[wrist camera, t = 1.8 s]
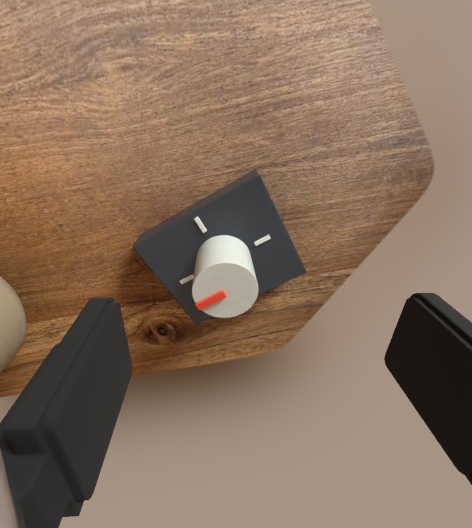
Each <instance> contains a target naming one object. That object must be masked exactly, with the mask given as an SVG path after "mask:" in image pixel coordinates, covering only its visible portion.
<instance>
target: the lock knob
mask: <svg viewBox="0 0 472 528" xmlns="http://www.w3.org/2000/svg"><path fill="white" fill-rule="evenodd" d="M192 296H193V299H194V301H195V303H196V307H197V308H198V309H199V310H202V311H203V312H205V313H207V314H209V315H211V316H214V317H219V318H230V317H235V316H238V315H240V314H242V313H244V312H246V311H247V310H248V309H249V308H251V306H252V305H253V304H254V302H255V301H256V299H257V296H258V283H257V279H256V275H255V271H254V267H253V263H252V259H251V255H250V252H249V249H248V247H247V246H246V245H245V244H244V243H243V242H242V241H241V240H239V239H238V238H236V237H233V236H229V235H219V236H215V237H212V238H210V239H208V240H207V241H205V242H204V243H203V244H202V245H201V247H200V248H199V250H198V252H197V256H196V263H195V271H194V278H193V285H192Z"/></svg>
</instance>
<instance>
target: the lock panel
mask: <svg viewBox="0 0 472 528" xmlns="http://www.w3.org/2000/svg"><path fill="white" fill-rule="evenodd" d="M219 235H229V236H233V237H236V238H238V239H239V240H241V241H242V242H243V243H244V244H245V245H246V246H247V247H248V249H249V252H250V255H251V259H252V263H253V267H254V271H255V275H256V279H257V283H258V295H260V294H262V293H264V292H266V291H268V290H270V289H272V288H274V287H276V286H279V285H281V284H283V283H285V282H287V281H289V280H291V279H293V278H295V277H297V276H299V275H301V274H304V273H306V269H305V267H304V265H303V263H302V261H301V259H300V257H299V255H298V253H297V251H296V249H295V247H294V245H293V243H292V241H291V239H290V236H289V234H288V232H287V230H286V228H285V226H284V224H283V222H282V220H281V218H280V216H279V214H278V212H277V210H276V208H275V206H274V204H273V201H272V199H271V197H270V195H269V193H268V191H267V189H266V187H265V185H264V183H263V181H262V179H261V177H260V175H259V174H258V172H257V171H256V170H253V171H251V172H250V173H248V174H246V175H244V176H243V177H241V178H239V179H237V180H236V181H234V182H232V183H230V184H229V185H227V186H225V187H223V188H222V189H220V190H218V191H216V192H215V193H213V194H211V195H209V196H208V197H206V198H204V199H202V200H201V201H199V202H197V203H195V204H194V205H192V206H190V207H188V208H187V209H185V210H183V211H181V212H180V213H178V214H176V215H174V216H173V217H171V218H169V219H167V220H166V221H164V222H162V223H160V224H159V225H157V226H155V227H153V228H152V229H150V230H148V231H146V232H145V233H143V234H141V235H140V236H139V237H138V239H137V240H136V242H135V243H134V245H133V248H134V249H135V250H136V251H137V253H138V254H139V255H140V256H141V257H142V259H143V260H144V261H145V262H146V264H147V265H148V266H149V267H150V269H151V270H152V271H153V272H154V273H155V275H156V276H157V277H158V278H159V280H160V281H161V282H162V283H163V284H164V286H165V287H166V288H167V289H168V291H169V292H170V293H171V294H172V296H173V297H174V298H175V299H176V300H177V302H178V303H179V304H180V305H181V307H182V308H183V309H184V310H185V312H186V313H187V314H188V315H189V316H190V318H191V319H192V320H193V321H194V323H195V324H196V325H197V324H199V323H202V322H204V321H206V320H208V319H210V318H212V317H214V316H211V315H209V314H207V313H205V312H203V311H202V310H199V309H198V308H197V307H196V303H195V301H194V299H193V296H192V285H193V278H194V271H195V263H196V256H197V252H198V250H199V248H200V247H201V245H202V244H203V243H204V242H205V241H207V240H208V239H210V238H212V237H215V236H219Z"/></svg>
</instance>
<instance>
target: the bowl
mask: <svg viewBox="0 0 472 528" xmlns="http://www.w3.org/2000/svg"><path fill="white" fill-rule="evenodd" d="M26 330H27V323H26V316H25V312H24V308H23V306H22V303H21V301H20V299H19V297H18V296H17V294H16V293H15V291H14V290H13V289H12V287H11V286H10V285H9V284H8V283H7V282H6V281H5V280H4V279H2V278H1V277H0V373H1V371H2V370H3V369H4V368H5V367H6V365H7V364H8V363H9V362H10V361H11V360H12V359H13V357H14V356H15V355H16V354H17V352H18V351H19V349H20V348H21V346H22V344H23V342H24V339H25V336H26Z"/></svg>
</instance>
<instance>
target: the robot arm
mask: <svg viewBox="0 0 472 528" xmlns="http://www.w3.org/2000/svg"><path fill="white" fill-rule="evenodd" d="M385 364H386V366H387V368H388V370H389V371H390V372H391V374H392V375H393V377H394V378H395V380H396V381H397V383H398V384H399V385H400V387H401V388H402V390H403V391H404V393H405V394H406V396H407V397H408V399H409V400H410V402H411V403H412V404H413V406H414V407H415V409H416V410H417V412H418V413H419V415H420V416H421V418H422V419H423V420H424V422H425V423H426V425H427V426H428V428H429V429H430V431H431V432H432V433H433V435H434V436H435V438H436V439H437V441H438V442H439V444H440V445H441V447H442V448H443V450H444V451H445V453H446V454H447V455H448V457H449V458H450V460H451V461H452V463H453V464H454V466H455V467H456V468H457V469H458V471H460V472H461V473H462V474H464V475H465V476H466V477H467V479H468V480H469V482H470V483H471V484H472V323H471V322H470V321H469V320H468V319H466V318H465V317H464V316H463V315H461V314H460V313H459V312H458V311H456V310H455V309H454V308H453V307H451V306H450V305H449V304H448V303H446V302H445V301H444V300H443V299H441V298H440V297H439V296H438V295H436V294H434V293H416V294H413V295H412V296H411V297H410V298H408V299H407V300H406V303H405V305H404V308H403V310H402V313H401V315H400V318H399V321H398V323H397V326H396V328H395V331H394V333H393V336H392V339H391V342H390V344H389V346H388V349H387V352H386V354H385ZM131 374H132V361H131V357H130V352H129V347H128V342H127V337H126V332H125V328H124V323H123V318H122V313H121V308H120V304H119V303H118V302H114V301H113V299H112V298H91V299H90V300H89V301H88V303H87V304H86V305H85V307H84V308H83V310H82V311H81V313H80V314H79V316H78V317H77V319H76V320H75V322H74V323H73V324H72V326H71V327H70V329H69V330H68V332H67V333H66V335H65V336H64V338H63V339H62V341H61V342H60V343H58V344H56V345H55V346H54V348H53V349H52V350H51V351H50V353H49V354H48V356H47V357H46V359H45V360H44V361H43V363H42V364H41V366H40V367H39V369H38V370H37V371H36V373H35V374H34V376H33V377H32V379H31V380H30V381H29V383H28V384H27V386H26V387H25V389H24V390H23V391H22V393H21V394H20V396H19V397H18V399H17V400H16V401H15V403H14V404H13V406H12V407H11V409H10V410H9V411H8V413H7V414H6V416H5V417H4V419H3V420H2V421H1V423H0V528H58V527H59V525H60V522H61V519H62V517H69V516H79V514H80V511H81V508H82V505H83V502H84V500H89V499H90V498H91V496H92V494H93V492H94V489H95V486H96V483H97V480H98V477H99V474H100V471H101V468H102V464H103V461H104V458H105V455H106V452H107V449H108V446H109V443H110V440H111V437H112V433H113V430H114V427H115V424H116V421H117V418H118V415H119V412H120V409H121V406H122V402H123V399H124V396H125V393H126V390H127V387H128V384H129V381H130V378H131Z"/></svg>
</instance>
